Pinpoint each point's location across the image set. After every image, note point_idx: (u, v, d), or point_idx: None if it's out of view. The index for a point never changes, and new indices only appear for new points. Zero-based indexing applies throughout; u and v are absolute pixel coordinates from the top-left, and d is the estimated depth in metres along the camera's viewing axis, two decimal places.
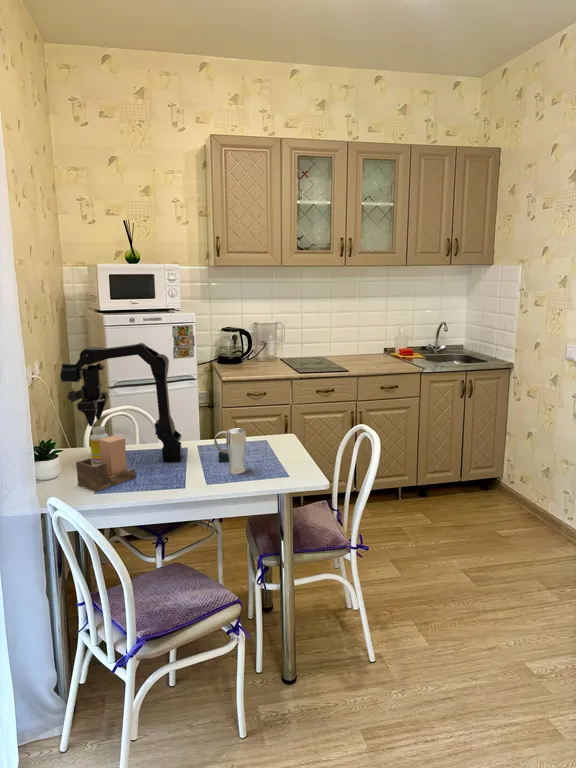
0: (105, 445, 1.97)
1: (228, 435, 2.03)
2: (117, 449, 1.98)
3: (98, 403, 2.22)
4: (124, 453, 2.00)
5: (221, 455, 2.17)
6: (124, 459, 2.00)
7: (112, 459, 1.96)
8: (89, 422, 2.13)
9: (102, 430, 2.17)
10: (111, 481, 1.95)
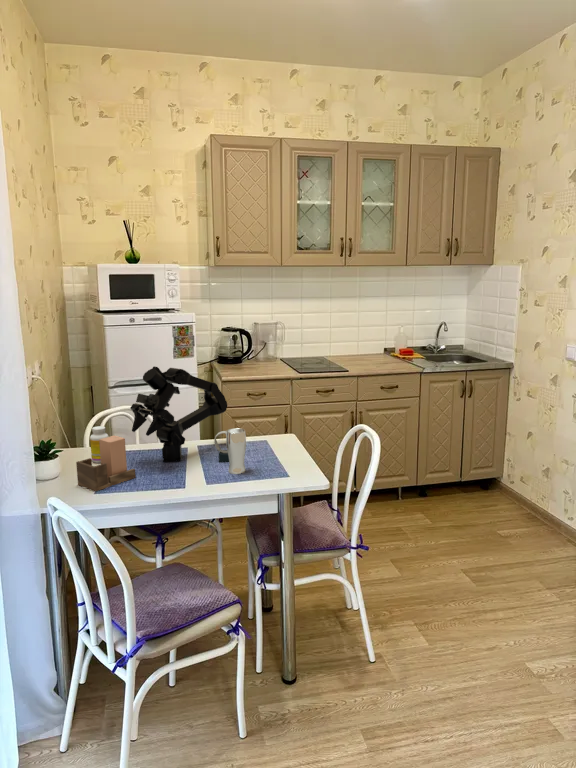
0: (105, 445, 1.97)
1: (228, 435, 2.03)
2: (117, 449, 1.98)
3: (141, 417, 2.14)
4: (124, 453, 2.00)
5: (221, 455, 2.17)
6: (124, 459, 2.00)
7: (112, 459, 1.96)
8: (149, 431, 2.06)
9: (102, 430, 2.17)
10: (111, 481, 1.95)
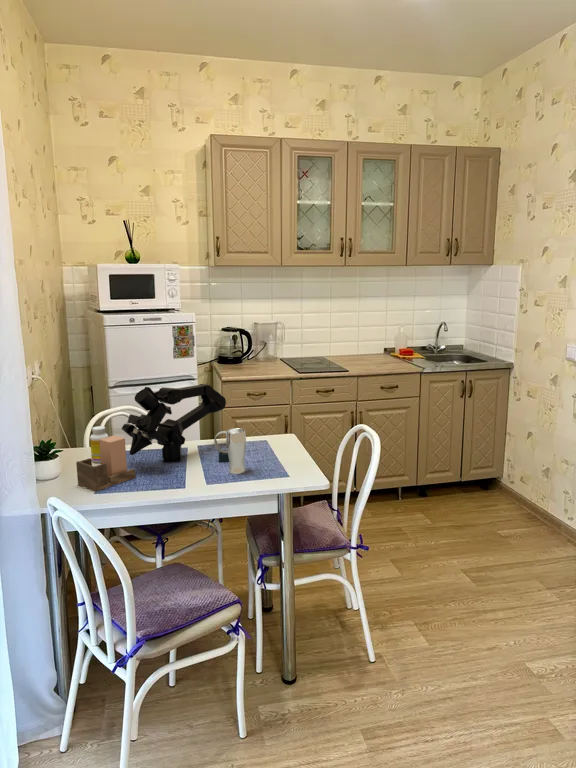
0: (105, 445, 1.97)
1: (228, 435, 2.03)
2: (117, 449, 1.98)
3: None
4: (124, 453, 2.00)
5: (221, 455, 2.17)
6: (124, 459, 2.00)
7: (112, 459, 1.96)
8: (134, 450, 2.06)
9: (102, 430, 2.17)
10: (111, 481, 1.95)
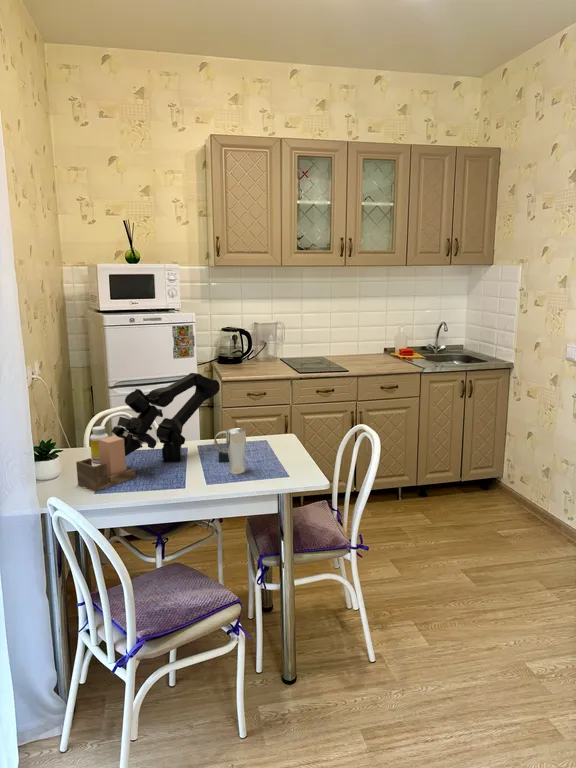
0: (104, 446, 1.97)
1: (228, 435, 2.03)
2: (116, 449, 1.97)
3: None
4: (123, 453, 2.00)
5: (221, 455, 2.17)
6: (123, 459, 2.00)
7: (111, 459, 1.96)
8: None
9: (102, 430, 2.17)
10: (111, 481, 1.95)
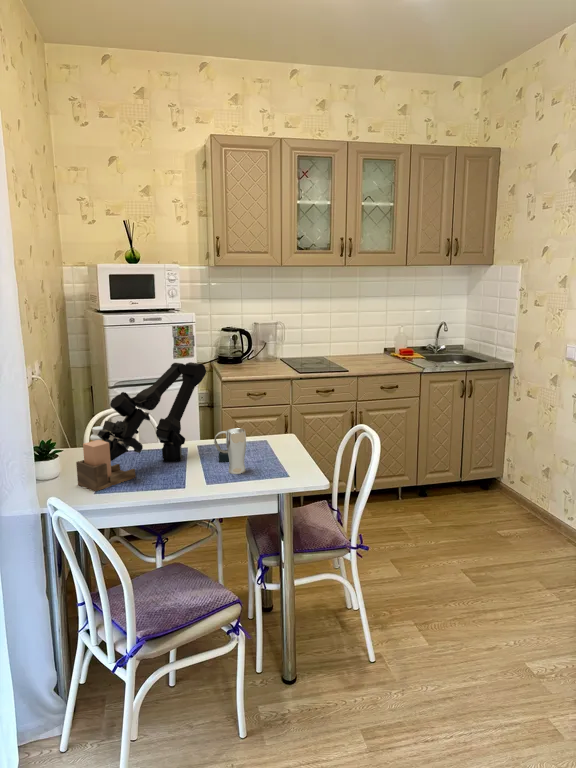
0: (89, 450, 1.92)
1: (228, 435, 2.03)
2: (101, 454, 1.93)
3: None
4: (108, 458, 1.95)
5: (221, 455, 2.17)
6: (108, 464, 1.96)
7: (96, 463, 1.92)
8: None
9: None
10: (111, 481, 1.95)
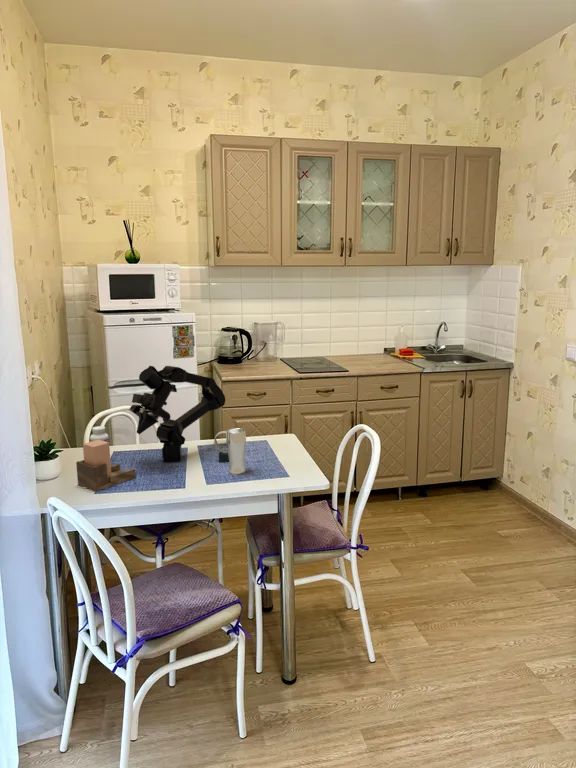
0: (89, 450, 1.92)
1: (228, 435, 2.03)
2: (101, 454, 1.93)
3: None
4: (108, 458, 1.95)
5: (221, 455, 2.17)
6: (108, 464, 1.96)
7: (96, 463, 1.92)
8: (141, 429, 2.07)
9: (102, 430, 2.17)
10: (111, 481, 1.95)
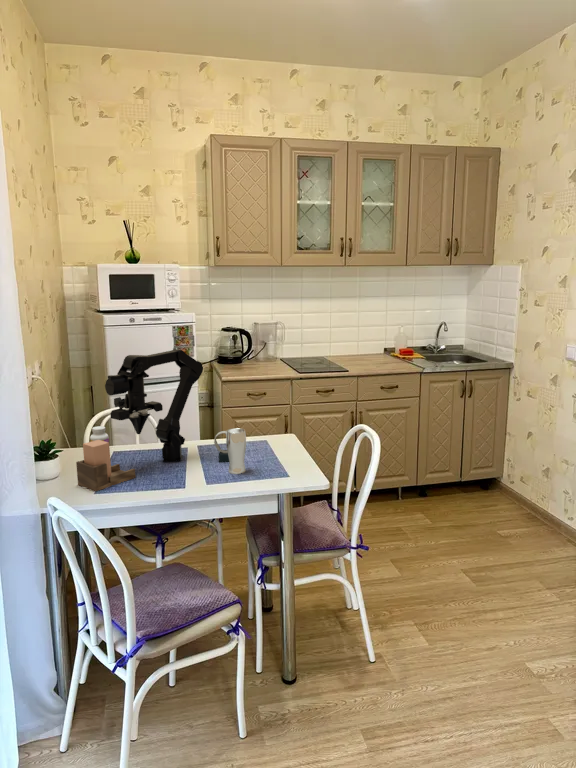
0: (89, 450, 1.92)
1: (228, 435, 2.03)
2: (101, 454, 1.93)
3: (139, 416, 2.08)
4: (108, 458, 1.95)
5: (221, 455, 2.17)
6: (108, 464, 1.96)
7: (96, 463, 1.92)
8: (135, 429, 2.08)
9: (102, 430, 2.17)
10: (111, 481, 1.95)
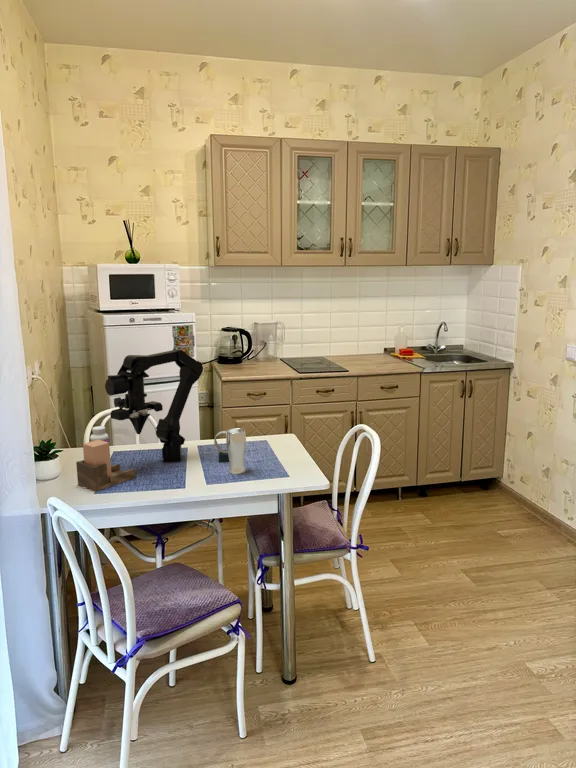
0: (89, 450, 1.92)
1: (228, 435, 2.03)
2: (101, 454, 1.93)
3: (139, 416, 2.08)
4: (108, 458, 1.95)
5: (221, 455, 2.17)
6: (108, 464, 1.96)
7: (96, 463, 1.92)
8: (135, 429, 2.08)
9: (102, 430, 2.17)
10: (111, 481, 1.95)
